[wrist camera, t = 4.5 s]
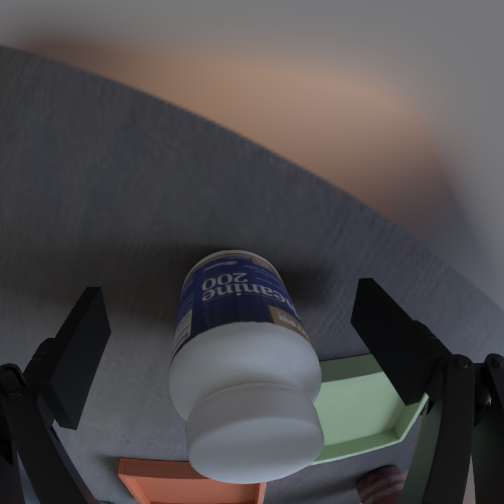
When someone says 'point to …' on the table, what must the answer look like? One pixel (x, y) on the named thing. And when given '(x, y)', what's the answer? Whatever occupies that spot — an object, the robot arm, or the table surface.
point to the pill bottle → (244, 372)
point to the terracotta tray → (182, 484)
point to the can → (381, 486)
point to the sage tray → (360, 408)
